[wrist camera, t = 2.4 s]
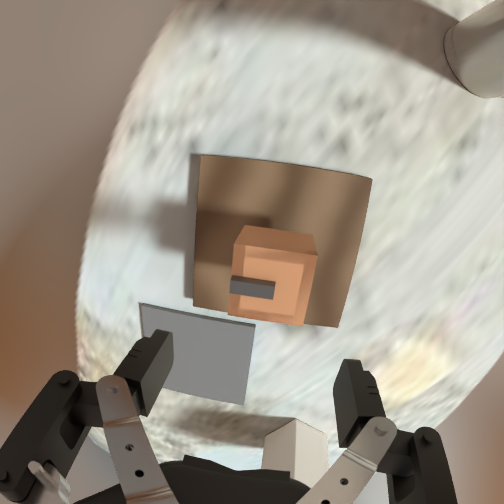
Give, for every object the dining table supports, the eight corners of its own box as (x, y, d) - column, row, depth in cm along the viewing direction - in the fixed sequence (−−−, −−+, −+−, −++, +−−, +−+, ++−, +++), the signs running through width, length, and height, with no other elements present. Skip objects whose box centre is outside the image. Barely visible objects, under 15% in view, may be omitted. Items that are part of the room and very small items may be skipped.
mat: (255, 324, 33) (255, 327, 33) (244, 402, 38) (243, 405, 38) (143, 303, 34) (141, 305, 34) (151, 381, 39) (150, 384, 39)
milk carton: (264, 435, 41) (250, 538, 23) (296, 417, 38) (290, 531, 21) (296, 450, 42) (290, 545, 24) (327, 433, 39) (330, 537, 21)
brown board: (368, 177, 26) (401, 190, 18) (336, 320, 32) (347, 373, 24) (205, 154, 28) (170, 158, 19) (196, 299, 33) (169, 346, 25)
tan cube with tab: (312, 234, 24) (318, 260, 19) (301, 294, 26) (302, 332, 20) (244, 224, 24) (231, 247, 19) (238, 285, 26) (225, 320, 21)
